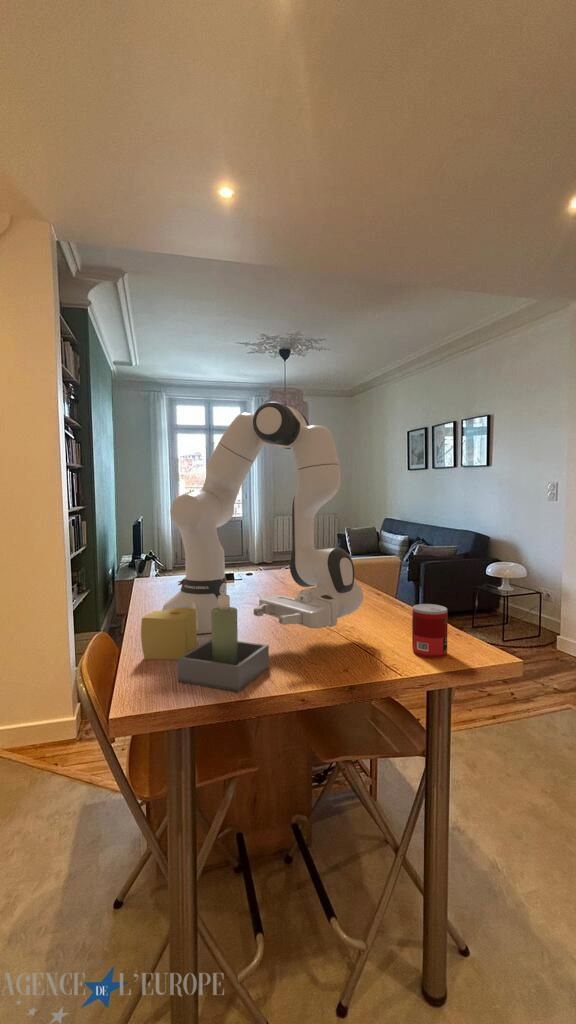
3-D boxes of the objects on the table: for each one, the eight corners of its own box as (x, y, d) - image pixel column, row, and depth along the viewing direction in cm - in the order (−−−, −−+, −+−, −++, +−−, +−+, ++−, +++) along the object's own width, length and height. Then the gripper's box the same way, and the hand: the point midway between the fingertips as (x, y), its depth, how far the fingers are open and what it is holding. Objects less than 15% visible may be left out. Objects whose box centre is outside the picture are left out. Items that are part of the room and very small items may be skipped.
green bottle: (207, 673, 99) (205, 597, 99) (220, 664, 105) (219, 592, 104) (230, 676, 97) (228, 599, 97) (242, 667, 102) (241, 594, 102)
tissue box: (158, 645, 120) (157, 606, 120) (199, 646, 119) (198, 607, 119) (140, 660, 110) (139, 617, 110) (185, 661, 109) (184, 618, 108)
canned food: (452, 658, 109) (452, 611, 108) (417, 659, 109) (417, 611, 108) (441, 647, 117) (441, 603, 116) (408, 648, 117) (408, 603, 116)
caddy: (178, 681, 97) (177, 657, 97) (214, 659, 110) (213, 637, 110) (238, 692, 92) (238, 667, 92) (268, 667, 105) (268, 645, 104)
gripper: (284, 587, 125) (241, 595, 116) (341, 600, 109) (297, 611, 100) (284, 611, 125) (241, 620, 116) (341, 627, 110) (297, 640, 101)
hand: (267, 616), depth 108 cm, fingers open, 8 cm apart
